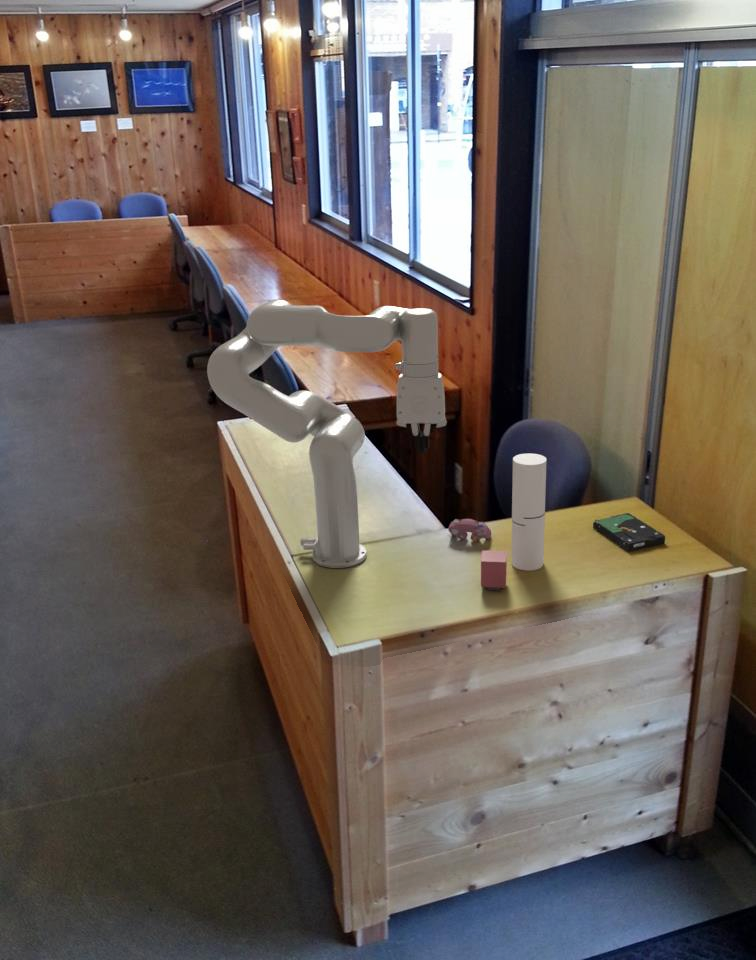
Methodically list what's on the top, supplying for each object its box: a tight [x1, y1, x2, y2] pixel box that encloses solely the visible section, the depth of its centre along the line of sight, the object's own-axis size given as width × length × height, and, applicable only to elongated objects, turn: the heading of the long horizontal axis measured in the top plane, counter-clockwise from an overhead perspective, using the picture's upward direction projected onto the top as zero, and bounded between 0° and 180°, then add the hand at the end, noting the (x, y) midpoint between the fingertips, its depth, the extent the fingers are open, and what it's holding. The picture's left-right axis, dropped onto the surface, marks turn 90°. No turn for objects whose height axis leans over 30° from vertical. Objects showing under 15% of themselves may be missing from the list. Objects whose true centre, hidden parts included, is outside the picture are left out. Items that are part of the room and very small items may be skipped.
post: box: [487, 587, 501, 591], centre depth 198 cm, size 3×3×7 cm
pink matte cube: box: [480, 550, 508, 589], centre depth 198 cm, size 5×5×6 cm
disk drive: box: [592, 512, 666, 553], centre depth 220 cm, size 10×3×15 cm
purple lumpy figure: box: [447, 518, 492, 543], centre depth 221 cm, size 10×5×7 cm, turn 71°
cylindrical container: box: [510, 453, 547, 572], centre depth 205 cm, size 7×7×25 cm
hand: (422, 451), depth 201 cm, fingers closed
